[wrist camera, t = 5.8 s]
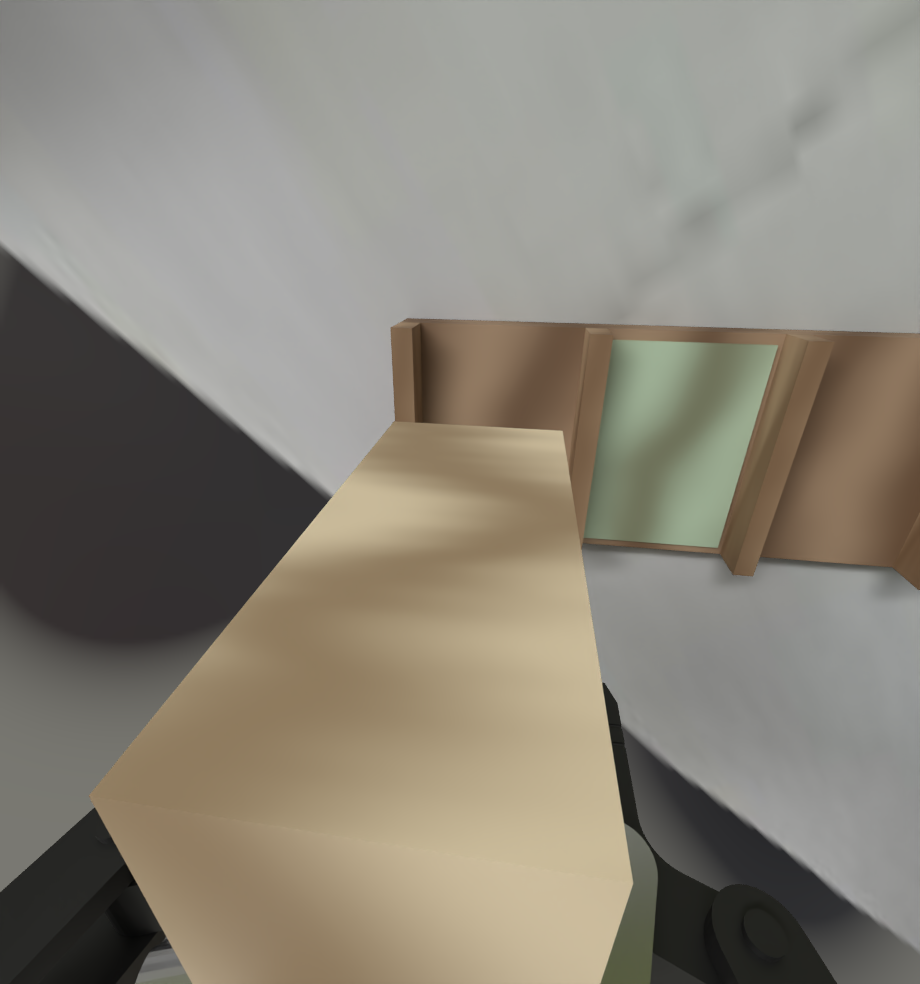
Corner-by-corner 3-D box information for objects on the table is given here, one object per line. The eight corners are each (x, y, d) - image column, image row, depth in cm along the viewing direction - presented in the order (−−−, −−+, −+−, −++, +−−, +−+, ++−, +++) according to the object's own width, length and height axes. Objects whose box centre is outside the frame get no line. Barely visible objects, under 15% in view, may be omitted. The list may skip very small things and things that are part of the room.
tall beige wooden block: (569, 430, 11) (656, 887, 3) (531, 744, 16) (529, 1228, 8) (388, 421, 12) (71, 792, 4) (405, 727, 17) (287, 1168, 9)
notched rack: (1001, 335, 22) (1078, 349, 19) (893, 553, 28) (939, 591, 25) (407, 318, 25) (390, 327, 22) (414, 517, 31) (401, 547, 28)
